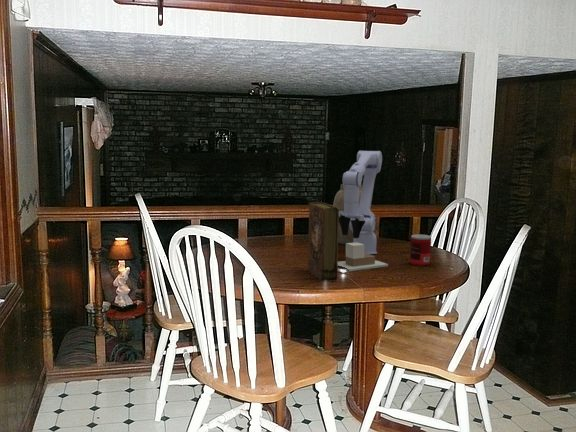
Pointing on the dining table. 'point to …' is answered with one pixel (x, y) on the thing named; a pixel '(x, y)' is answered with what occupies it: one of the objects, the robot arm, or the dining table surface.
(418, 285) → the dining table surface
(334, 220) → the book
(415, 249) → the canned food
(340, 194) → the vase
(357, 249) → the cream cube
